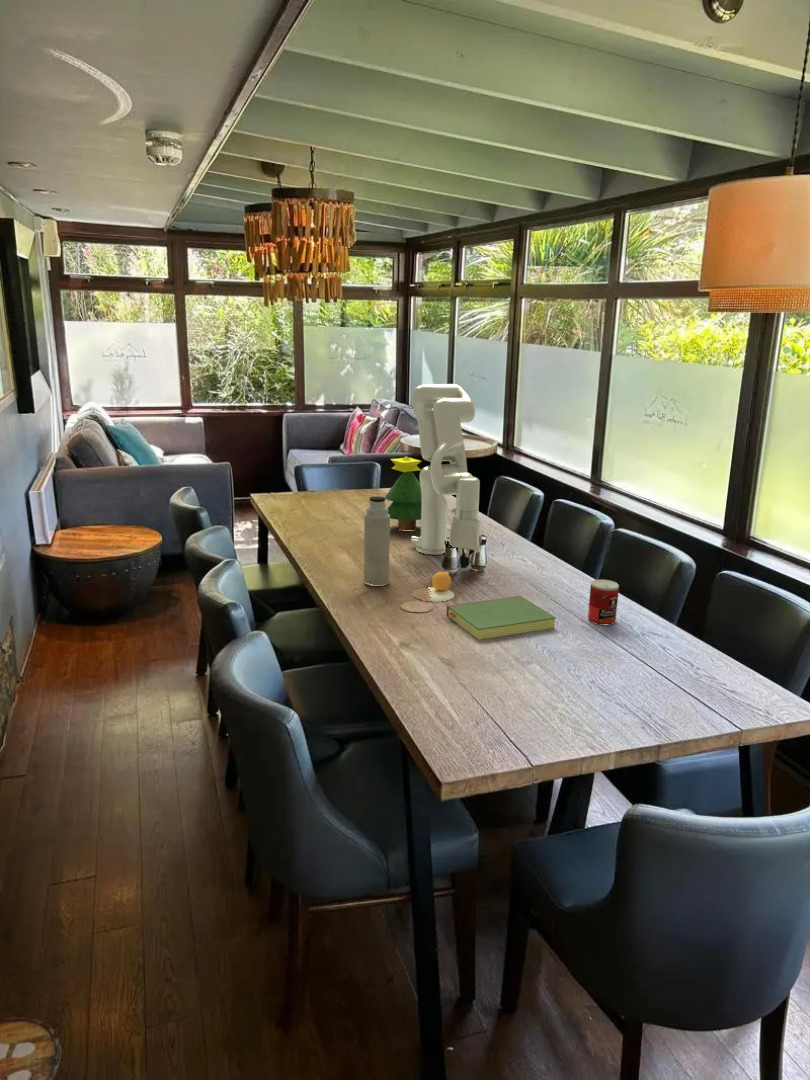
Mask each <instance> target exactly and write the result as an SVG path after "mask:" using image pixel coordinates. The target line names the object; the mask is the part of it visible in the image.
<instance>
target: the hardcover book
mask: <svg viewBox="0 0 810 1080" xmlns="http://www.w3.org/2000/svg"><path fill="white" fill-rule="evenodd" d="M448 616H449V618H450V619H451V620H452V619H453V620H452V621H454V622H455V621H456V622H457V623H456V622H455V623H456V624H457V625H459V624H460V625H461V626H462V629H464V630H465V629H466V630H465V631H466V632H468V633H469V634H470V635H472V636H473V637H474V636H475V638H476V639H477V640H478V639H479V640H484V639H485V638H486V639H493V638H498V637H504V636H510V635H511V636H512V635H517V634H523V633H525V634H526V633H530V632H536V631H537V632H538V631H542V630H550V629H555V623H556V622H555V621H556V619H557V617H556V616H555V615H553V614H551V613H550V612H548V611H546V610H544V609H543V608H542V607H540V606H538V605H536V604H535V603H533V602H531V601H529V600H528V599H527V598H524V596H521V595H517V596H509V597H502V598H501V597H500V598H494V599H486V600H479V601H471V602H464V603H456V604H449V605H446V617H448ZM460 625H459V626H460ZM461 626H460V627H461Z"/></svg>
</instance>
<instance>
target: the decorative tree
mask: <svg viewBox="0 0 810 1080" xmlns="http://www.w3.org/2000/svg"><path fill="white" fill-rule="evenodd" d="M389 460H390V461H392V463H394V466H393V467H391V469H393V470H395V471H399V472H402V473H401V474H400V476H399V477H398V478H397V479H396V480H395V483H394V484H393V485H392V487H391V488H390V489H389V491H388V492H387V493H386V495H385V496H384V497H385V500H387V501H390V502H391V503H390V504H389V506H388V507H387V508H388V514H389V515H390V520H391V519H392V520H396V521H397V529H398V528H399V529H401V530H415V529H416V530H417V521H421V505H422V496H421V485H420V480H418V478H417V477H416V475H415V474H414V472H416V471H421V468H419V466H418V465H419V464H420V463H421V462H422V460H419V459H415V458H413V457H408V456H407V455H406V456H404V457H400V458H390V459H389ZM416 530H415V531H416Z"/></svg>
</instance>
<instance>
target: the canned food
mask: <svg viewBox="0 0 810 1080" xmlns="http://www.w3.org/2000/svg"><path fill="white" fill-rule="evenodd" d="M619 591H620V585H619V584H618V583H617V582H616V581H613V580H609V579H594V580H592V581H591V583H590V589H589V600H588V601H589V602H588V610H587V611H588V612H587V618H588V621H590V622H591V621H592V622H591V623H593V622H594V623H593V624H595V623H597V624H596V625H599V624H611V625H613V624H615V623H616V619H617V609H618V600H619ZM612 623H613V624H612Z"/></svg>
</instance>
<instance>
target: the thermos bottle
mask: <svg viewBox="0 0 810 1080" xmlns="http://www.w3.org/2000/svg"><path fill="white" fill-rule="evenodd" d="M363 519H364V521H363V522H364V524H363V527H364V528H363V529H364V533H363V534H364V535H363V538H364V541H363V542H364V543H363V548H364V549H363V583H364V582H366V583H369V584H373V585H383V584H387V583H388V582H389V583H390V542H391V540H390V539H391V536H390V535H391V530H390V529H391V518H390V515H389V514H388V507H387V506H386V499H385V496H379V495H374V496H370V497H369V506H367V507H366V513H365V514H364V518H363Z"/></svg>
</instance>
